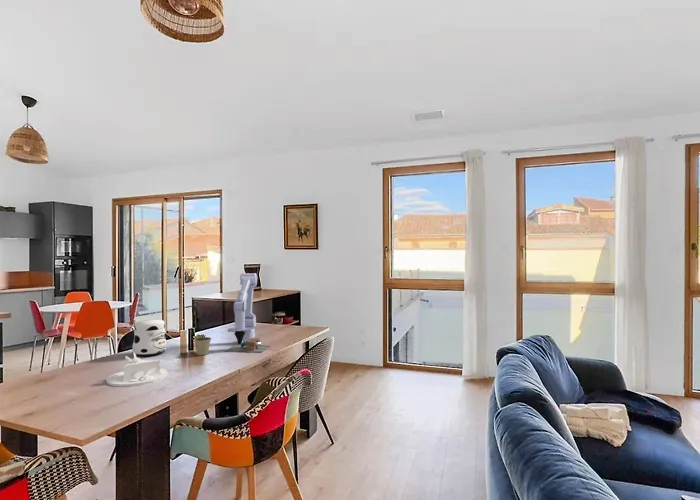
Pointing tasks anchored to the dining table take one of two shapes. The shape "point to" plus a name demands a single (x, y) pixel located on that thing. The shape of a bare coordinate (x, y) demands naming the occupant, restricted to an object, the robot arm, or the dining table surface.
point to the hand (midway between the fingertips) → (239, 344)
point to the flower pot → (202, 345)
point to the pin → (245, 343)
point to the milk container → (149, 337)
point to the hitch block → (249, 347)
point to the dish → (137, 373)
